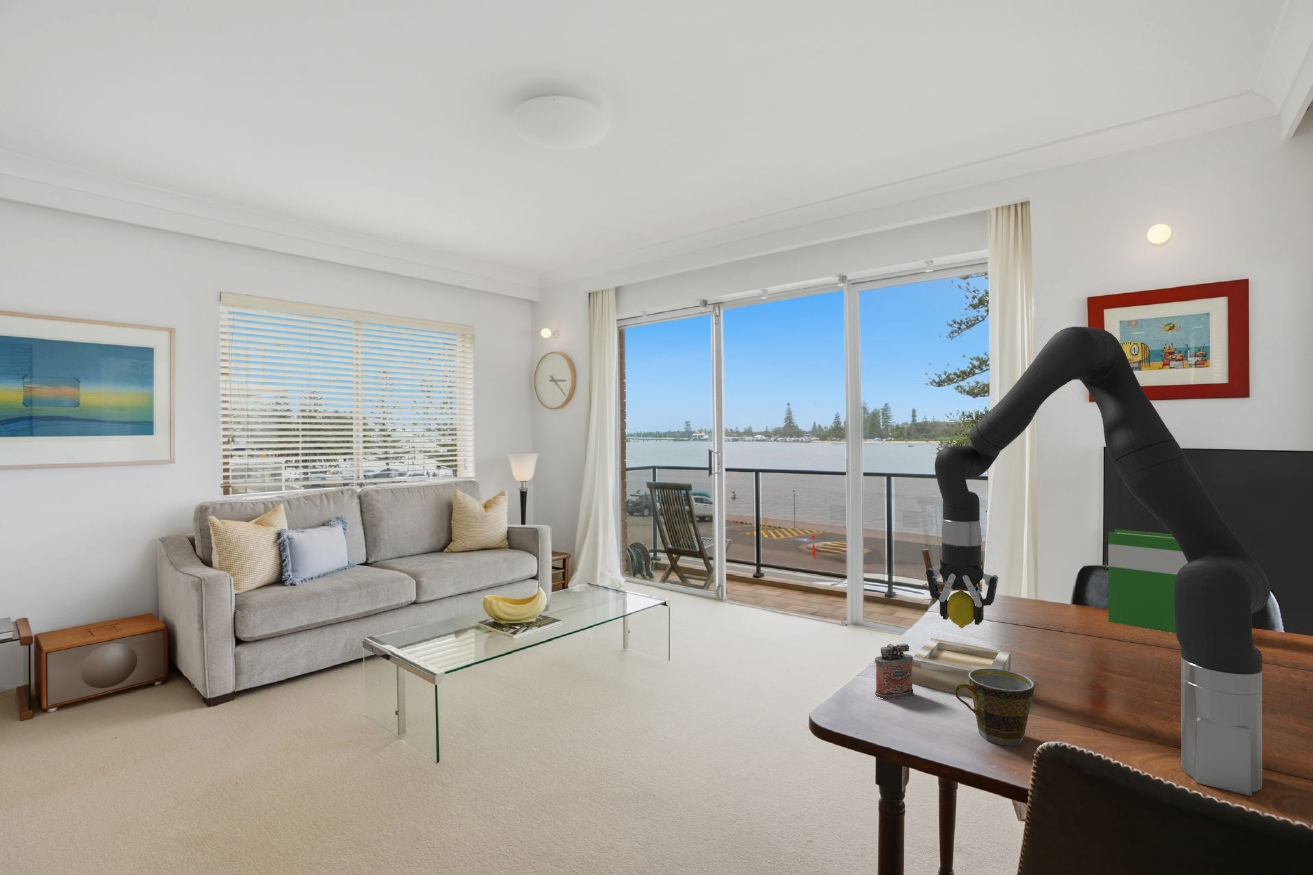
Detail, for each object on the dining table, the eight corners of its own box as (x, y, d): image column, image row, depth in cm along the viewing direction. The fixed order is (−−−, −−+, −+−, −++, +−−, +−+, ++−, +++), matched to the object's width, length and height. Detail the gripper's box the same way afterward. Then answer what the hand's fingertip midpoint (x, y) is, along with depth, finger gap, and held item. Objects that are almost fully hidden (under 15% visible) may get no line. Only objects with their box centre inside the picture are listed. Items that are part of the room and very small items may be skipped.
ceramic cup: (1012, 722, 117) (1012, 667, 116) (1048, 750, 107) (1047, 690, 106) (941, 724, 116) (941, 669, 116) (970, 752, 106) (969, 692, 106)
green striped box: (1108, 621, 174) (1108, 532, 174) (1115, 616, 180) (1115, 529, 179) (1192, 636, 162) (1192, 540, 161) (1197, 630, 167) (1197, 536, 166)
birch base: (997, 704, 125) (996, 676, 125) (911, 685, 135) (911, 659, 135) (1010, 677, 138) (1010, 652, 138) (931, 662, 148) (931, 638, 148)
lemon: (979, 632, 133) (979, 594, 133) (950, 631, 134) (950, 593, 134) (972, 624, 139) (971, 587, 138) (944, 623, 140) (944, 586, 139)
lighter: (881, 701, 127) (881, 650, 126) (871, 694, 130) (871, 644, 130) (917, 695, 129) (916, 645, 129) (906, 689, 132) (906, 640, 132)
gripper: (920, 540, 137) (920, 620, 138) (995, 547, 129) (996, 632, 129) (929, 535, 143) (930, 611, 144) (1002, 541, 135) (1003, 622, 135)
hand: (961, 621), depth 136 cm, fingers closed on lemon, 5 cm apart
